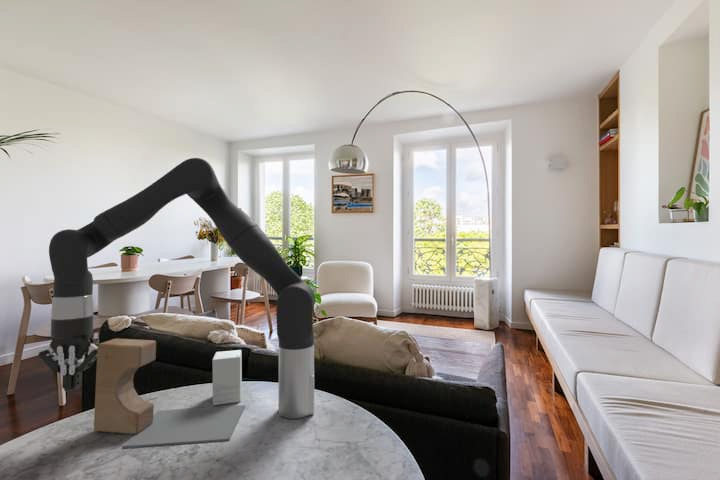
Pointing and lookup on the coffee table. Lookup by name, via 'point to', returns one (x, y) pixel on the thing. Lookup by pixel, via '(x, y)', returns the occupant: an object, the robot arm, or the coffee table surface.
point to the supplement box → (227, 377)
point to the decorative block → (121, 386)
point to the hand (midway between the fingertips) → (70, 389)
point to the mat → (188, 426)
